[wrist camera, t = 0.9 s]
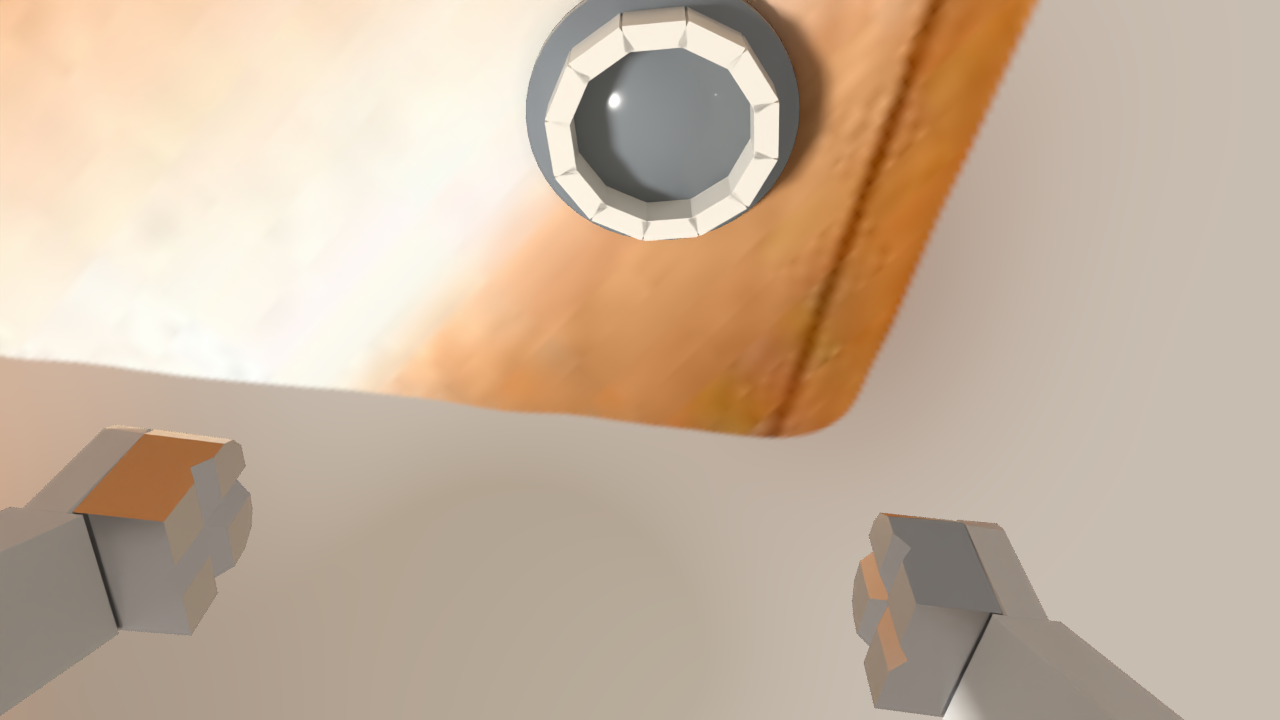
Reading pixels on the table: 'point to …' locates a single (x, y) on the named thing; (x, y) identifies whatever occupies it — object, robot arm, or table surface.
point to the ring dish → (662, 113)
